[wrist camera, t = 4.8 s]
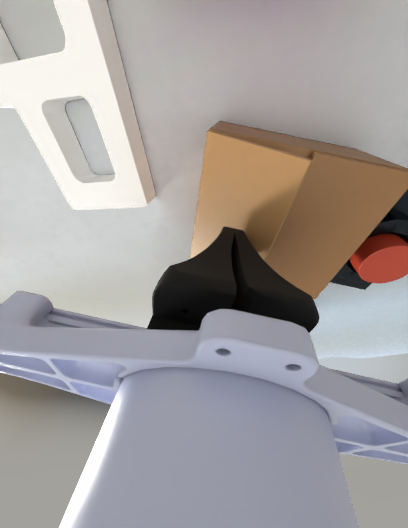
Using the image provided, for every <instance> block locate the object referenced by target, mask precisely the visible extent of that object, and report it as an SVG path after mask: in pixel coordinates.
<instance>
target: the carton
mask: <svg viewBox="0 0 408 528" xmlns="http://www.w3.org/2000/svg"><path fill="white" fill-rule="evenodd" d="M209 130H210V131H214V132H218V133H221V134H225V135H228V136H232V137H235V138H239V139H242V140H246V141H249V142H252V143H256V144H259V145H263V146H266V147H270V148H273V149H277V150H280V151H284V152H287V153H290V154H294V155H297V156H301V157H304V158H308V159H311V160H313V162H312V164H311V166H310V168H309V170H308V172H307V175H306V177H305V179H304V181H303V183H302V185H301V187H300V189H299V191H298V193H297V196H296V198H295V200H294V202H293V204H292V206H291V208H290V210H289V212H288V214H287V217H286V219H285V221H284V223H283V225H282V227H281V229H280V231H279V233H278V235H277V238H276V240H275V242H274V244H273V246H272V248H271V250H270V252H269V254H268V256H267V259H266V261H265V262H266V263H267V264H268V265H269V266H270V267H271V268H272V269H273V270H274V271H275V272H277V273H278V274H279V275H280V276H281V277H283V278H284V279H285V280H287V281H288V282H290V283H291V284H293V285H294V286H296V287H297V288H299V289H301V290H302V291H304V292H306V293H307V294H309V295H311V296H312V298H313V299H316V298H317V296H318V295H319V294H320V293H321V292H322V290H323V289H324V288H325V287H326V286H327V284H328V283H329V282H330V281H331V280H332V279H333V277H334V276H335V275H336V274H337V273H338V271H339V270H340V269H341V268H342V267H343V265H344V264H345V263H346V262H347V261H348V260H349V258H350V257H351V256H352V255H353V254H354V252H355V251H356V250H357V249H358V248H359V246H360V245H361V244H362V243H363V242H364V241H365V239H366V238H367V237H368V236H369V235H370V233H371V232H372V231H373V230H374V229H375V227H376V226H377V225H378V224H379V223H380V222H381V220H382V219H383V218H384V217H385V216H386V214H387V213H388V212H389V211H390V210H391V208H392V207H393V206H394V205H395V204H396V202H397V201H398V200H399V199H400V198H401V197H402V195H403V194H404V193H405V192H406V191H407V189H408V168H405V167H402V166H400V165H397V164H394V163H392V162H389V161H386V160H384V159H381V158H378V157H376V156H373V155H370V154H368V153H365V152H362V151H360V150H357V149H353V148H348V147H343V146H338V145H333V144H329V143H324V142H319V141H314V140H309V139H305V138H300V137H295V136H290V135H285V134H280V133H276V132H271V131H266V130H261V129H256V128H252V127H247V126H242V125H237V124H232V123H227V122H223V121H219V122H218V123H217V124H215V125H214V126H212V127H211V128H210V129H209Z"/></svg>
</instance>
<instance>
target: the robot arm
mask: <svg viewBox="0 0 408 528" xmlns="http://www.w3.org/2000/svg"><path fill="white" fill-rule="evenodd" d="M152 307H153V316H152V318H151V321H150V323H149V325H148V328H142V327H138V326H133V325H129V324H124V323H119V322H115V321H110V320H106V319H101V318H97V317H92V316H88V315H83V314H78V313H74V312H69V311H65V310H60V309H56V308H53V305H52V303H51V301H50V300H49V299H48V298H46V297H45V296H42V295H38V294H34V293H29V292H24V291H17V292H15V293H14V294H13V295H12V296H11V297H9V298H8V299H7V300H6V301H5V302H3V303H2V304H1V305H0V372H1V373H5V374H9V375H13V376H18V377H21V378H25V379H28V380H32V381H36V382H39V383H43V384H46V385H50V386H53V387H56V388H59V389H63V390H66V391H69V392H72V393H76V394H79V395H82V396H86V397H88V398H92V399H95V400H98V401H102V402H105V403H108V404H111V405H112V406H111V408H110V410H109V413H108V415H107V418H106V420H105V422H104V424H103V427H102V429H101V431H100V434H99V436H98V439H97V441H96V443H95V445H94V448H93V450H92V453H91V455H90V457H89V459H88V462H87V464H86V466H85V469H84V471H83V473H82V475H81V478H80V480H79V483H78V485H77V487H76V489H75V492H74V494H73V496H72V499H71V501H70V504H69V506H68V508H67V510H66V513H65V515H64V517H63V520H62V523H61V524H60V527H59V528H359V526H358V522H357V518H356V515H355V511H354V508H353V504H352V500H351V497H350V494H349V490H348V486H347V482H346V479H345V475H344V472H343V468H342V465H341V461H340V457H339V454H338V453H341V454H347V455H354V456H360V457H367V458H373V459H379V460H385V461H391V462H397V463H402V464H408V379H405V380H403V381H401V382H399V384H397V383H392V382H388V381H383V380H378V379H374V378H370V377H364V376H360V375H355V374H351V373H347V372H342V371H338V370H333V369H328V368H326V367H324V366H322V365H319V363H318V360H317V356H316V353H315V350H314V346H313V343H312V340H311V336H310V334H309V332H310V331H311V330H312V329H313V328H314V327H315V326H316V325H317V323H318V321H319V314H318V311H317V308H316V305H315V303H314V300H313V298H312V296H311V295H309V294H307V293H306V292H304V291H302V290H301V289H299V288H297V287H296V286H294V285H293V284H291V283H290V282H288V281H287V280H285V279H284V278H283V277H281V276H280V275H279V274H278V273H277V272H275V271H274V270H273V269H272V268H271V267H270V266H269V265H268V264H267V263H266V262H265V261H264V260H263V259H262V258H261V256H260V255H259V254H258V253H257V251H256V250H255V249H254V247H253V246H252V244H251V243H250V241H249V239H248V238H247V236H246V234H245V232H244V231H243V230H240V229H235V228H230V227H225V226H224V227H223V228H222V231H221V232H220V234H219V235H218V237H217V238H216V239H215V240H214V241H213V242H212V243H211V244H210V245H209V246H208V247H207V248H206V249H205V250H204V251H202V252H201V253H199V254H198V255H196V256H195V257H193V258H191V259H189V260H187V261H184V262H182V263H178V264H175V265H172V266H169V268H168V269H167V270H166V271H165V272H164V274H163V275H162V277H161V278H160V280H159V281H158V283H157V285H156V287H155V290H154V292H153V296H152Z"/></svg>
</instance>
